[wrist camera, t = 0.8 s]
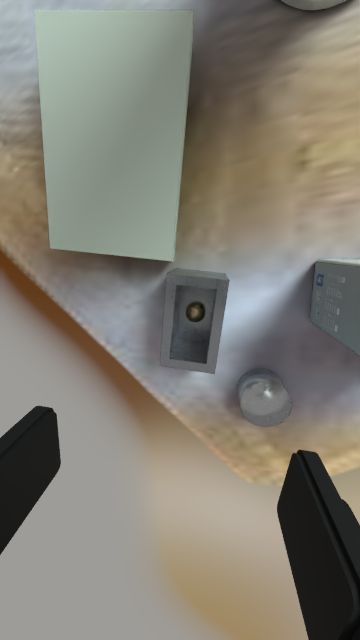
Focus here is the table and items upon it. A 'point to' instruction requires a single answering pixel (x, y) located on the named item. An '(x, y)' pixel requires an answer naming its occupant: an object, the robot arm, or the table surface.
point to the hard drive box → (337, 300)
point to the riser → (114, 127)
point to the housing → (193, 319)
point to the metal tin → (263, 398)
